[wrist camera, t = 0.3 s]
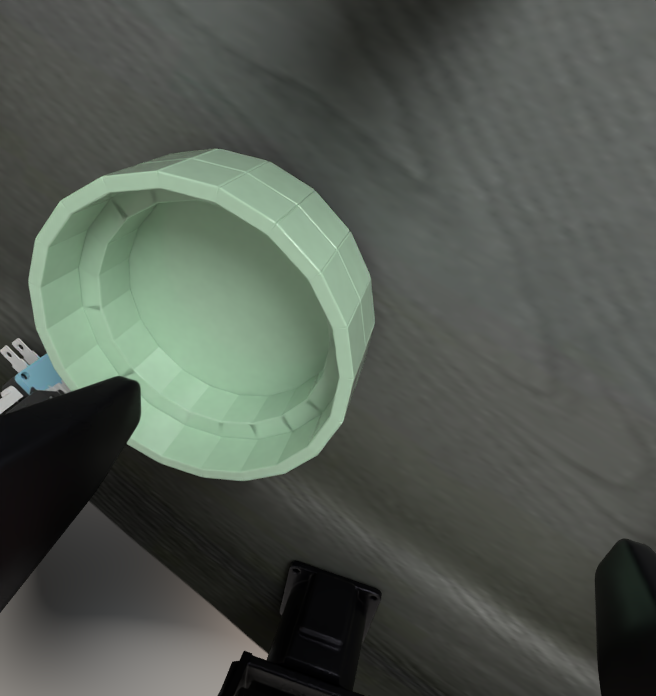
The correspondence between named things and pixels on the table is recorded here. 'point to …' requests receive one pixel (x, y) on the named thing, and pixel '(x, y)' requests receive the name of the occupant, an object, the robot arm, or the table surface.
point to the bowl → (208, 308)
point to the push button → (30, 380)
